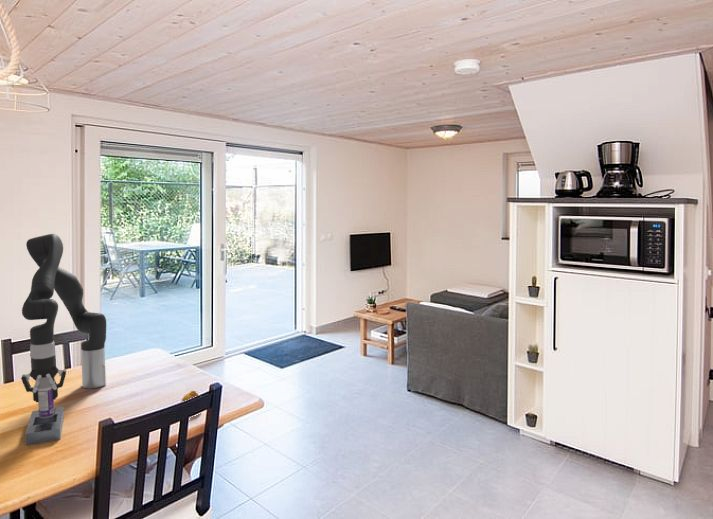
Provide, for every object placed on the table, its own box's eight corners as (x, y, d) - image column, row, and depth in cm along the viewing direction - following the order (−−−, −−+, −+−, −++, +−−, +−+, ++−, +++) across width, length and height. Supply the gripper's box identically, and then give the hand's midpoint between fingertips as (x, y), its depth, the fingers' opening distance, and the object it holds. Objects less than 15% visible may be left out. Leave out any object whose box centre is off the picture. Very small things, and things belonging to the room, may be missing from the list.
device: (63, 416, 185) (63, 406, 185) (60, 439, 168) (59, 428, 167) (32, 421, 180) (32, 410, 180) (25, 445, 163) (25, 434, 162)
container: (50, 411, 177) (48, 372, 175) (56, 414, 174) (54, 375, 172) (36, 415, 173) (34, 376, 171) (42, 419, 171) (40, 379, 169)
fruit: (209, 404, 194) (201, 386, 195) (192, 413, 188) (184, 394, 188) (198, 409, 199) (190, 392, 200) (181, 418, 192) (173, 400, 193)
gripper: (67, 348, 177) (69, 393, 180) (20, 354, 171) (23, 399, 173) (66, 355, 171) (68, 400, 173) (17, 360, 164) (20, 407, 166)
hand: (45, 399), depth 173 cm, fingers closed on container, 4 cm apart
